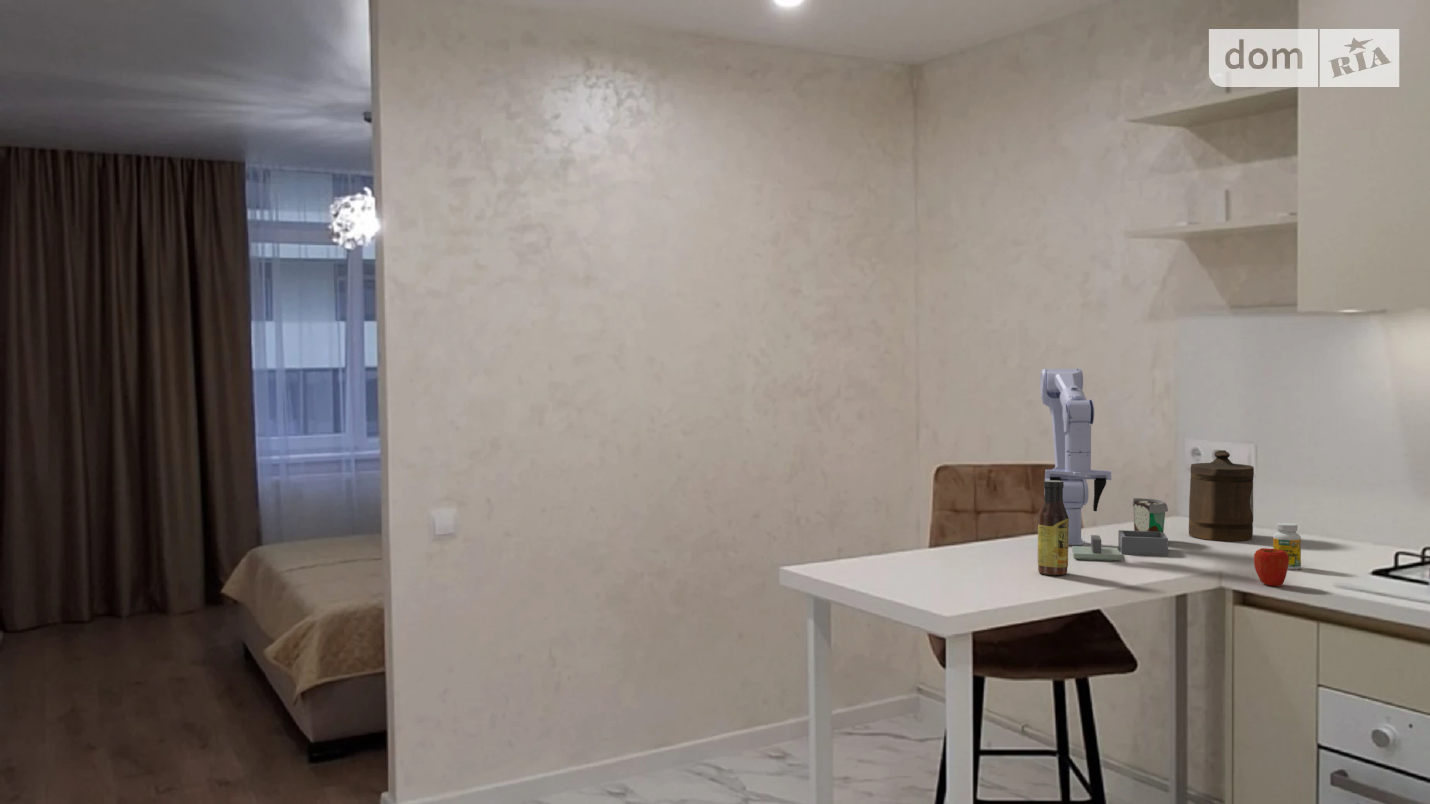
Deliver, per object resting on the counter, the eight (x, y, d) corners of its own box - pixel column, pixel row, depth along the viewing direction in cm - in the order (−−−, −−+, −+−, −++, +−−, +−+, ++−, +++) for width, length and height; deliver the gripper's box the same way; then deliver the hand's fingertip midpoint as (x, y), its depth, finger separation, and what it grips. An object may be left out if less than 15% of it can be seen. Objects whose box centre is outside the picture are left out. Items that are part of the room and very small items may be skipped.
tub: (1121, 554, 258) (1121, 537, 258) (1118, 546, 268) (1118, 530, 267) (1167, 555, 255) (1168, 538, 255) (1162, 548, 265) (1162, 531, 265)
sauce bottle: (1063, 577, 232) (1064, 483, 231) (1033, 574, 235) (1034, 481, 234) (1071, 572, 237) (1072, 480, 237) (1042, 569, 241) (1042, 478, 240)
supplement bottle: (1298, 566, 242) (1298, 522, 242) (1303, 570, 237) (1303, 526, 237) (1270, 564, 244) (1271, 521, 243) (1275, 569, 239) (1275, 525, 238)
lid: (1074, 561, 251) (1074, 540, 251) (1072, 553, 261) (1072, 533, 261) (1120, 563, 249) (1121, 542, 248) (1117, 555, 258) (1117, 535, 258)
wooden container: (1266, 539, 276) (1267, 451, 275) (1217, 543, 272) (1218, 453, 271) (1223, 530, 290) (1224, 447, 289) (1175, 533, 286) (1176, 448, 285)
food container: (1175, 545, 269) (1176, 504, 268) (1150, 545, 269) (1150, 504, 268) (1156, 537, 281) (1157, 497, 280) (1132, 537, 281) (1132, 498, 281)
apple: (1246, 583, 225) (1247, 547, 224) (1268, 580, 227) (1268, 544, 227) (1273, 589, 219) (1274, 552, 219) (1295, 586, 222) (1296, 549, 221)
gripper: (1045, 452, 255) (1045, 511, 255) (1112, 453, 251) (1112, 513, 252) (1045, 450, 262) (1044, 507, 262) (1110, 451, 258) (1109, 509, 258)
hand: (1077, 510), depth 257 cm, fingers open, 7 cm apart
